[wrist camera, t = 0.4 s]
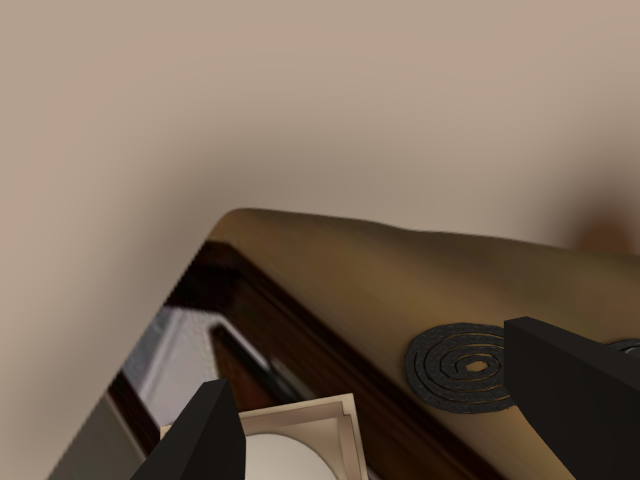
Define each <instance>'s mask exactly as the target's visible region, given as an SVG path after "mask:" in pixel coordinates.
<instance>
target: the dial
mask: <svg viewBox="0 0 640 480" xmlns="http://www.w3.org/2000/svg"><path fill="white" fill-rule="evenodd" d="M245 480H338V479H337V477H336V475H335V474H334V472H333V470H332V469H331V468H330V466H329V465H328V464H327V462H326V461H325V460H324V459H323V458H322V457H321V456H320V455H319V454H318V453H317V452H316V451H315V450H313V449H312V448H311V447H309V446H308V445H307V444H305V443H303V442H301V441H300V440H298V439H295V438H293V437H290V436H287V435H282V434H278V433H260V434H254V435H250V436H246V472H245Z"/></svg>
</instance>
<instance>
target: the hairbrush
mask: <svg viewBox="0 0 640 480" xmlns="http://www.w3.org/2000/svg"><path fill="white" fill-rule="evenodd" d="M465 333H483V334H491V335H495V336H500V337H504V328H501V327H498V326H492V325H482V324H472V323H456V324H449V325H442V326H437V327H435V328H432V329H429V330H427V331H425V332H423V333H422V334H420V335H418V336H416V337H415V338H414V339H413V340H412V342H411V343H410V345H409V348H408V350H407V353H406V355H405V373H406V380H407V381H408V383H409V385H410V386H411V388H412V389H413V391H414V392H415V393H416V394H417V395H418V396H419V397H420V398H421V399H422V400H423V401H424V402H425V403H427V404H430V405H432V406H435V407H437V408H439V409H442V410H446V411H449V412H453V413H458V414H477V413H486V412H496V411H501V410H504V409H506V408H507V409H508V407H511V406H513V405H515V406H516V404H515V402H514V401H513V399H512V397H511V396H510V397H509V398H506V399H502V400H499V401H496V402H491V403H484V404H463V403H456V402H448V401H444V400H442V399H440V398H438V397H437V396H440V397H442V398H444V399H447V400H454V401H463V402H476V401H492V400H495V399H498V398H501V397H504V396H505V397H506V396H507V395H510V394H509V393H508V391H507V390H506V388H505V387H504V385H503V373H504V349H502V348H499V347H497V346H501V347H504V339H501V338H497V337H494V336H484V335H467V334H466V335H461V336H456V337H453V338H449V339H446V340H443V341H441V342H440V343H438V344H437V345H435V344H436V343H437V342H439V341H440V340H442V339H444V338H447V337H449V336H452V335H456V334H465ZM468 344H492V345H497V346H465V347H462V348H459V349H456V350H453V351H450V352H449V353H447V352H448V351H449V350H450V349H453V348H456V347H459V346H462V345H468ZM433 345H435V346H434V347H433V348H432V349H431V350H430V351H429V352H428V353H427V350H428V349H429V348H431V347H432V346H433ZM639 345H640V339H629V340H623V341H620V342H616V343H612V344H609V345H606V346H608V347H611V348H614V349H616V350H621V349H623V348H627V349H625V350H622V352H624V353H627V354H630V355H632V356H635V357H638V358H640V346H639ZM634 346H636V347H634ZM629 347H633V348H629ZM426 353H427V355H426ZM445 353H447V354H446V355H445V356H444V357H443V358H442V359H441V361H440V358H441V357H442V356H443V355H444V354H445ZM476 353H485V354H490V355H491V356H492V357H489V356H480V355H473V356H469V357H465V358H462V359H461V360H459V361H457V360H458V359H459V358H460V357H461V356H463V355H469V354H476ZM425 355H426V356H425ZM414 356H415V359H413V357H414ZM495 359H496V360H497V361H498V362H499V363H497V361H496V360H495ZM423 361H424V364H423V365H424V368H423V365H422V363H423ZM456 361H457V362H456ZM476 361H484V362H486V363H487V365H488V368H486V369H484V370H481V371H479V372H474V371H467V368H466V365H469V364H471V363H473V362H476ZM454 364H455V365H454ZM414 369H415V372H416V374H417V376H416V375H415V373H414ZM497 369H498V372H497V371H496V370H497ZM440 371H441V372H440ZM495 372H497V373H495ZM493 373H495V374H494V375H492V376H490V375H491V374H493ZM426 375H427V376H428V378H429V379H430V380H431V381H430V380H429V379H428V378H427V376H426ZM488 375H489V376H490V377H489V378H488V379H485V380H481V381H476V382H458V381H454V380H450V379H448V378H452V379H456V380H472V379H480V378H484V377H486V376H487V377H488ZM447 377H448V378H447ZM420 381H421V382H420ZM433 382H434V383H433ZM422 384H423V385H424V386H425V387H426V388H427V389H428V390H429V391H430V392H429V391H428V390H426V389H425V387H424V386H423V385H422ZM436 384H437V385H439V386H440V387H442V388H445V389H449V390H453V391H465V390H476V389H478V390H479V389H485V388H486V389H487V388H489V389H490V387H493V386H494V387H495V386H496V385H500V384H502V385H503V386H501V387H499V388H496V389H492V390H487V391H482V392H480V391H479V392H470V393H454V392H450V391H446V390H443V389H442V388H440V387H439V386H437V385H436ZM432 393H433V394H432ZM434 394H435V395H437V396H435V395H434Z"/></svg>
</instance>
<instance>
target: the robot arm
mask: <svg viewBox="0 0 640 480" xmlns="http://www.w3.org/2000/svg"><path fill="white" fill-rule="evenodd" d="M503 385H504V387H505V388H506V390H507V391H508V393H509V394H510V396H511V397H512V399H513V401H514V402H515V404H516V405H517V407H518V408H519V410H520V411H521V412H522V414H523V415H524V417H525V418H526V420H527V421H528V423H529V424H530V425H531V426H532V427H533V429H534V430H535V431H536V432H537V434H538V435H539V436H540V437H541V438H542V440H543V441H544V442H545V443H546V444H547V446H548V447H549V448H550V449H551V450H552V452H553V453H554V454H555V455H556V456H557V457H558V459H559V460H560V461H561V462H562V463H563V465H564V466H565V467H566V468H567V469H568V470H569V472H570V473H571V474H572V475H573V476H574V478H575V479H576V480H640V358H638V357H635V356H632V355H630V354H627V353H624V352H622V351H619V350H616V349H614V348H611V347H608V346H606V345H603V344H600V343H598V342H595V341H593V340H590V339H587V338H585V337H582V336H580V335H577V334H575V333H572V332H569V331H567V330H564V329H561V328H559V327H556V326H553V325H551V324H548V323H545V322H542V321H540V320H537V319H533V318H530V317H527V316H525V317H521V318H516V319H511V320H506V321H504V373H503ZM245 472H246V437H245V434H244V430H243V427H242V424H241V420H240V417H239V413H238V410H237V407H236V403H235V400H234V397H233V393H232V390H231V386H230V383H229V380H228V378H223V379H218V380H213V381H208V382H204V383H203V384H202V385H201V386H200V388H199V389H198V390H197V392H196V393H195V394H194V396H193V397H192V399H191V400H190V401H189V403H188V404H187V405H186V407H185V408H184V409H183V411H182V412H181V414H180V415H179V416H178V418H177V419H176V420H175V422H174V423H173V424H172V426H171V427H170V429H169V430H168V431H167V433H166V434H165V435H164V437H163V438H162V439H161V441H160V442H159V443H158V444H157V446H156V447H155V448H154V450H153V451H152V452H151V454H150V455H149V456H148V458H147V459H146V460H145V462H144V463H143V464H142V465H141V467H140V468H139V469H138V470H137V471H136V473H135V474H134V475H133V476H132V478H131V479H130V480H245Z"/></svg>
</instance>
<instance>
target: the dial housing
mask: <svg viewBox="0 0 640 480" xmlns="http://www.w3.org/2000/svg"><path fill="white" fill-rule="evenodd" d="M239 417H240V420H241V424H242V427H243V430H244V434H245V437H246V436H250V435H254V434H260V433H278V434H282V435H287V436H290V437H293V438H295V439H298V440H300V441H301V442H303V443H305V444H307V445H308V446H309V447H311V448H312V449H313V450H315V451H316V452H317V453H318V454H319V455H320V456H321V457H322V458H323V459H324V460H325V461H326V462H327V464H328V465H329V466H330V468H331V469H332V470H333V472H334V474H335V475H336V477H337V479H338V480H369V478H368V473H367V468H366V462H365V457H364V451H363V446H362V440H361V435H360V429H359V424H358V419H357V413H356V408H355V402H354V397H353V393H349V394H343V395H337V396H332V397H326V398H320V399H315V400H309V401H303V402H298V403H292V404H286V405H281V406H275V407H269V408H264V409H258V410H252V411H247V412H241V413H239ZM171 426H172V425H168V426H163V427H161V439H162V438H163V437H164V435H165V434H166V433H167V431H168V430H169V429H170V427H171Z"/></svg>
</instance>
